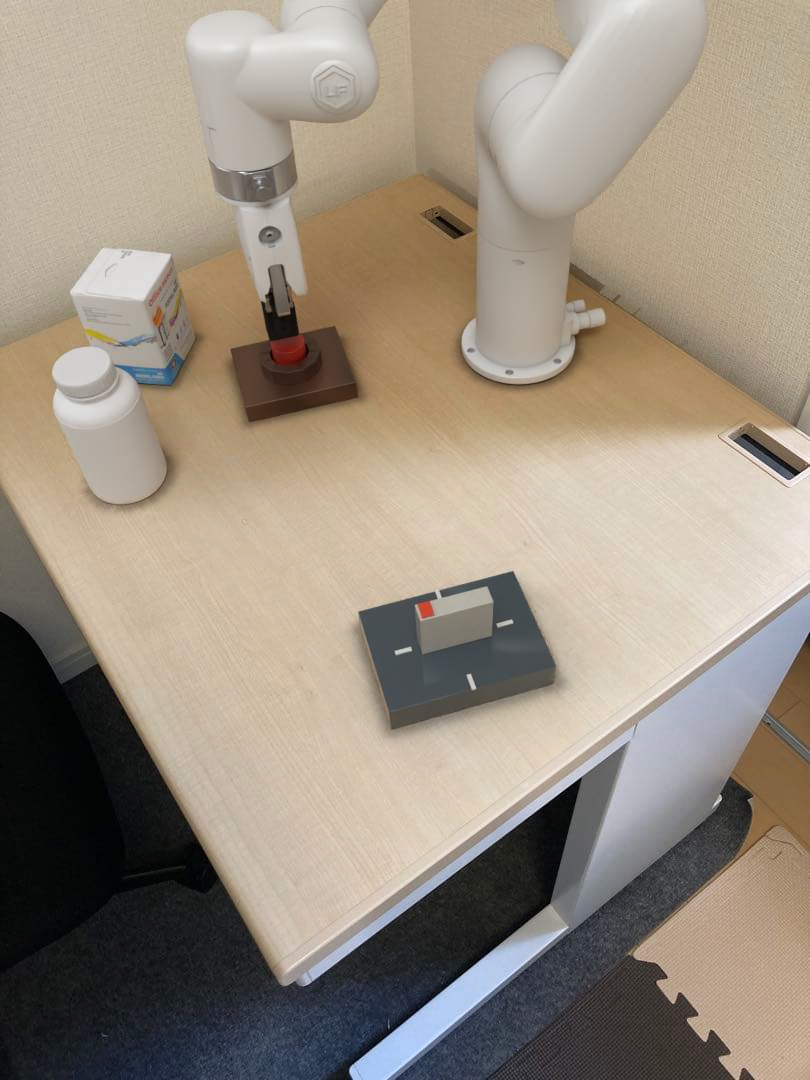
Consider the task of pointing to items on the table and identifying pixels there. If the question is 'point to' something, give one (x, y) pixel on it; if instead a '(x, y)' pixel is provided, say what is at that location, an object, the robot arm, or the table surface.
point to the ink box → (135, 313)
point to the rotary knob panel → (455, 656)
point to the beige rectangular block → (454, 620)
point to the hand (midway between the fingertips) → (283, 333)
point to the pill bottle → (107, 426)
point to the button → (289, 350)
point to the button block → (294, 376)
